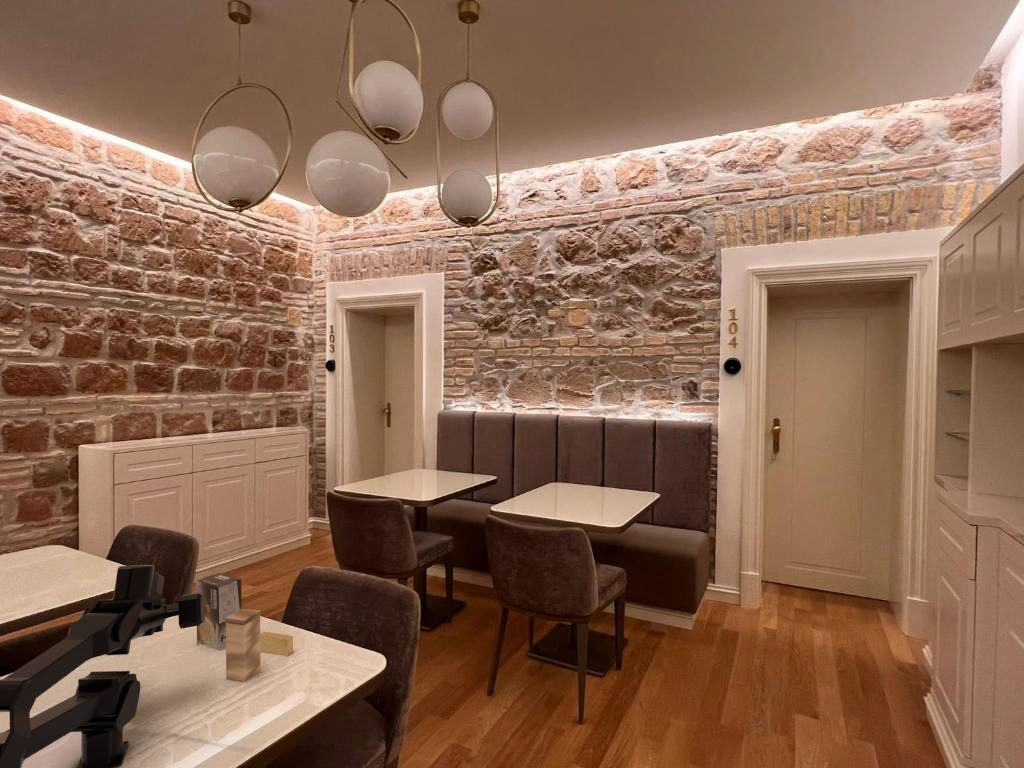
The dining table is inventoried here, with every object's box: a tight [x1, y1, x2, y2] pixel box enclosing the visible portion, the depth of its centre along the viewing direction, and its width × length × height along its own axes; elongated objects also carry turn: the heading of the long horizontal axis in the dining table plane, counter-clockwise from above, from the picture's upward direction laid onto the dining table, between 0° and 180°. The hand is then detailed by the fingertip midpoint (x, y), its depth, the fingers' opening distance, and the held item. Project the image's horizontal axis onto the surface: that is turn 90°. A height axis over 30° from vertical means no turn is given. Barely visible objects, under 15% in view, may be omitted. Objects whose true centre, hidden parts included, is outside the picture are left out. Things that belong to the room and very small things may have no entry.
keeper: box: [225, 608, 262, 682], centre depth 122 cm, size 5×5×13 cm
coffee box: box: [195, 572, 243, 651], centre depth 137 cm, size 9×6×16 cm
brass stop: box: [260, 631, 294, 657], centre depth 132 cm, size 2×8×4 cm, turn 75°
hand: (169, 611), depth 120 cm, fingers open, 9 cm apart
